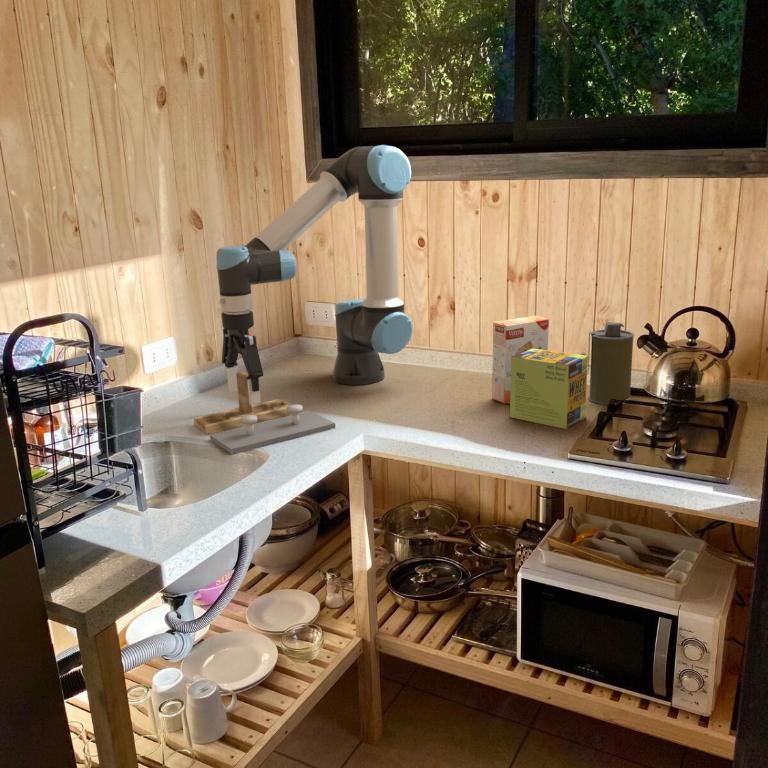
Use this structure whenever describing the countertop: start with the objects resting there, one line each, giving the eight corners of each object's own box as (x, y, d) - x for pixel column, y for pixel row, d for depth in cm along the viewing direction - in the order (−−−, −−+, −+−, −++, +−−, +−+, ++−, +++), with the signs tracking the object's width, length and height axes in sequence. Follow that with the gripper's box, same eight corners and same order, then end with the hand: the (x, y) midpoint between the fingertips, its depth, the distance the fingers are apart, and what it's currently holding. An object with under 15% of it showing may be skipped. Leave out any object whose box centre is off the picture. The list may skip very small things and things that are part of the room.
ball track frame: (281, 405, 210) (277, 361, 207) (296, 413, 203) (293, 368, 200) (194, 425, 197) (189, 378, 194) (208, 434, 190) (203, 386, 187)
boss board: (310, 415, 201) (309, 395, 200) (335, 427, 192) (334, 406, 190) (210, 439, 187) (208, 417, 185) (231, 454, 177) (229, 431, 176)
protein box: (567, 429, 185) (569, 365, 181) (509, 417, 195) (509, 356, 190) (586, 417, 193) (589, 355, 189) (530, 406, 203) (531, 347, 198)
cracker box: (505, 405, 204) (506, 325, 198) (491, 399, 209) (491, 321, 203) (547, 395, 211) (549, 318, 205) (533, 390, 216) (534, 314, 210)
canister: (627, 393, 210) (631, 319, 204) (633, 405, 200) (637, 327, 194) (584, 393, 212) (587, 319, 206) (589, 405, 202) (592, 328, 196)
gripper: (203, 306, 200) (211, 389, 206) (243, 321, 181) (251, 412, 187) (231, 302, 204) (238, 384, 210) (273, 316, 185) (280, 405, 191)
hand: (244, 397), depth 199 cm, fingers open, 11 cm apart
